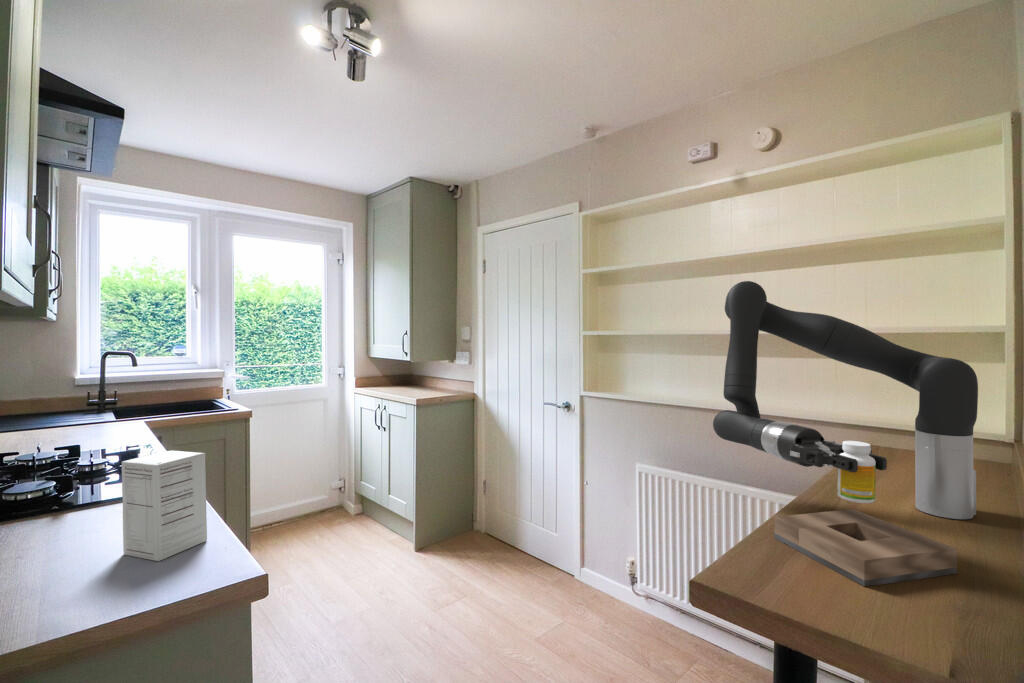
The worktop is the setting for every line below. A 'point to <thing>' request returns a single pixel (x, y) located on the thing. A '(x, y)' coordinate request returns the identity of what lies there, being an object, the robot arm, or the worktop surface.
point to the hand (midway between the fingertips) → (870, 465)
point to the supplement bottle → (857, 474)
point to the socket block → (865, 547)
